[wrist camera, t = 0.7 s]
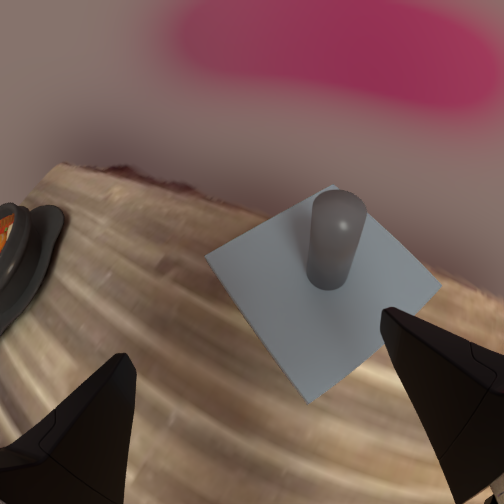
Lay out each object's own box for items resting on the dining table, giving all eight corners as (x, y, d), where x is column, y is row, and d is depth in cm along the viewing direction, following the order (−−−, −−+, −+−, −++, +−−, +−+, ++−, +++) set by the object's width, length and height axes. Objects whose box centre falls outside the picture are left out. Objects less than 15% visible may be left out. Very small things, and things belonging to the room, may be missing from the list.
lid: (432, 296, 21) (482, 232, 14) (306, 405, 18) (322, 390, 11) (331, 198, 29) (339, 122, 21) (209, 268, 25) (179, 194, 18)
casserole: (8, 378, 23) (-40, 354, 16) (-33, 320, 28) (-66, 296, 22) (93, 222, 36) (64, 179, 29) (35, 206, 41) (11, 174, 34)
